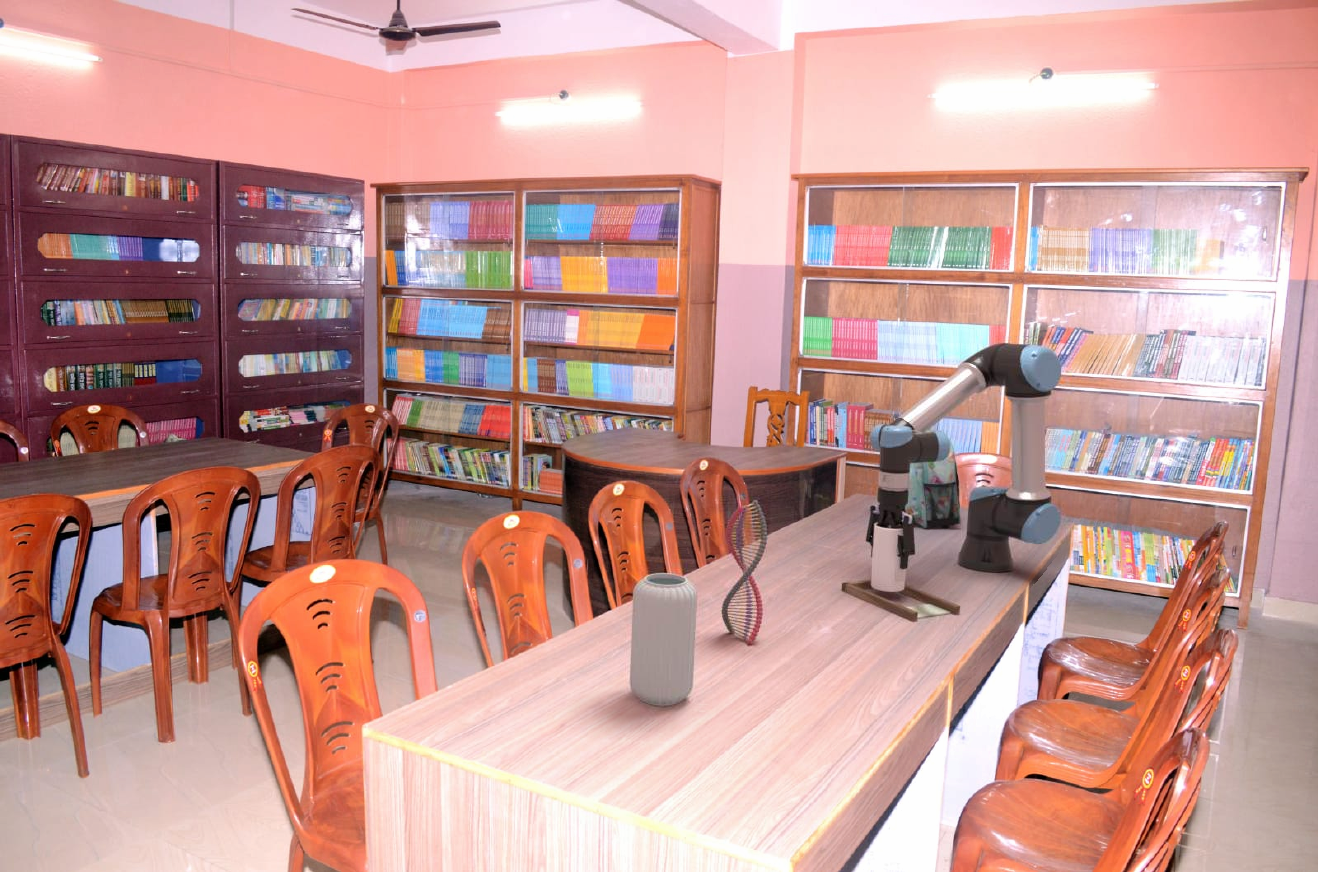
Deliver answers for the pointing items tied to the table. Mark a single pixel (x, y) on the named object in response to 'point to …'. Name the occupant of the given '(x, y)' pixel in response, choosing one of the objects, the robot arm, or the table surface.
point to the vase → (663, 638)
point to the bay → (912, 613)
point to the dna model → (745, 571)
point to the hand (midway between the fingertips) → (888, 575)
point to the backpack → (934, 492)
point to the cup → (885, 559)
